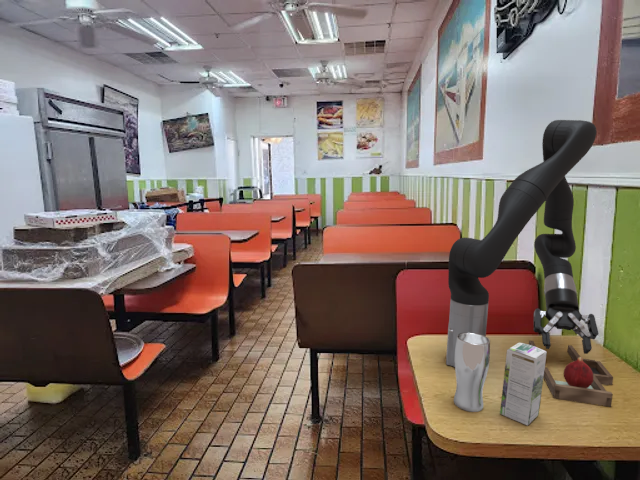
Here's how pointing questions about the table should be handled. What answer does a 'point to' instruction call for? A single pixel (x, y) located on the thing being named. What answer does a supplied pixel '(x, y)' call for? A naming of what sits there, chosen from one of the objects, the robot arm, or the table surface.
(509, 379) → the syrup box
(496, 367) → the table surface
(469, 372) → the beer glass
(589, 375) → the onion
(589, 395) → the zigzag wooden tray
